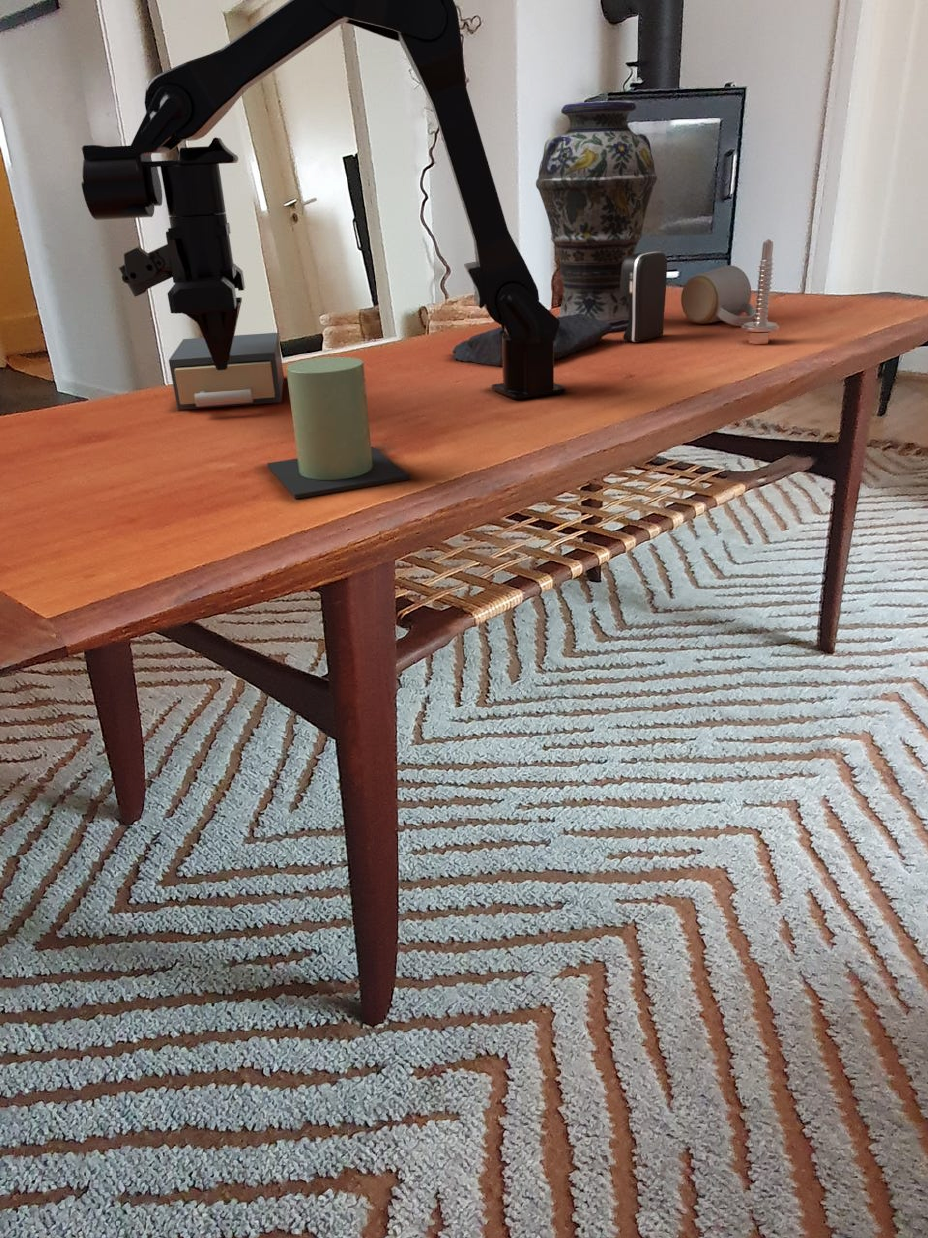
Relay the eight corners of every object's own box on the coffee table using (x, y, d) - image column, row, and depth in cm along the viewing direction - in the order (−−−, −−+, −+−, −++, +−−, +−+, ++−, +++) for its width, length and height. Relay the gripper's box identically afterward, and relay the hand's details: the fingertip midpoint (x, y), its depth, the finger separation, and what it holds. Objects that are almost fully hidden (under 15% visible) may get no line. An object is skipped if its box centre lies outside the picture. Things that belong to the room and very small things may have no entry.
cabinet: (281, 402, 107) (274, 352, 104) (177, 410, 105) (168, 359, 103) (284, 377, 119) (278, 332, 116) (190, 384, 117) (183, 338, 115)
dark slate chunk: (630, 342, 130) (631, 307, 127) (526, 371, 116) (526, 331, 114) (545, 333, 139) (545, 299, 137) (440, 358, 126) (438, 321, 123)
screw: (738, 345, 125) (742, 338, 129) (776, 346, 123) (778, 339, 127) (747, 240, 119) (750, 237, 123) (787, 240, 117) (789, 236, 121)
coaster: (410, 479, 79) (409, 474, 79) (295, 499, 76) (294, 494, 76) (372, 450, 88) (372, 446, 87) (267, 467, 84) (267, 463, 84)
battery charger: (642, 333, 136) (645, 249, 131) (665, 335, 133) (669, 250, 128) (614, 341, 131) (617, 254, 126) (637, 343, 129) (640, 255, 124)
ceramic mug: (675, 322, 143) (679, 268, 139) (709, 315, 147) (714, 263, 143) (732, 330, 135) (737, 274, 132) (766, 323, 140) (772, 268, 136)
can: (383, 459, 83) (374, 357, 79) (355, 482, 78) (345, 373, 74) (318, 456, 85) (306, 356, 81) (286, 478, 80) (272, 371, 76)
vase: (519, 324, 147) (516, 108, 134) (616, 313, 153) (622, 104, 139) (566, 340, 133) (567, 100, 120) (671, 328, 139) (683, 96, 125)
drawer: (273, 405, 102) (268, 370, 100) (175, 412, 100) (169, 377, 99) (277, 374, 116) (273, 343, 115) (192, 381, 115) (187, 349, 113)
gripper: (131, 214, 103) (158, 358, 110) (98, 224, 86) (132, 393, 93) (234, 209, 104) (254, 351, 111) (221, 217, 88) (245, 385, 95)
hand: (222, 369), depth 103 cm, fingers closed
